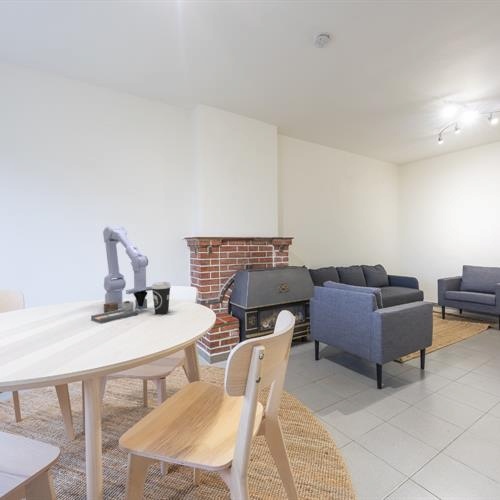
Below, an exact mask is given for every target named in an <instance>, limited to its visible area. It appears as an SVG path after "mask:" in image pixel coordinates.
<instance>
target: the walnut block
mask: <svg viewBox="0 0 500 500" xmlns="http://www.w3.org/2000/svg"><path fill="white" fill-rule="evenodd" d="M116 310H119V308H118V303H115V302H110V303H106V304H105V303H103V313H107V312H111V311H116Z"/></svg>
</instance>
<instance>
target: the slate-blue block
mask: <svg viewBox="0 0 500 500" xmlns="http://www.w3.org/2000/svg"><path fill="white" fill-rule="evenodd" d="M135 309H136V310H143V309H148V299H147V298H145V300H144V303H143V306H141V307H140V306H138V302H137V300H136V298H135Z"/></svg>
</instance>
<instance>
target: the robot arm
mask: <svg viewBox="0 0 500 500" xmlns="http://www.w3.org/2000/svg"><path fill="white" fill-rule="evenodd" d="M127 232H128V231H127V230H126V228H125V227H123V226H121V227H117V226H106V227H105V228H104V230H103V231H102V233H103V236H102V237H103V242H104V243H105V244H104V245H105V252H106V259H107V260H106V261H107V268H108V270H107V271H108V274H107V275H106V276H105V277H104V278H103V279H104V281H103V288H104V290H105V291H106V292H105V294H104V304H106V303H110V302H115V303H118V309H119V308H120V309H121V303H123V302H124V301H123V291H124V290H125V294H126V295H131V294H133V296H134V297H135V299H136V300H137V302H138V306H140V307H141V306H143V303H144V300H145V299H146V297H147V296H148V292H149V291H152V288H151V287H152V285H150V286H147V267H148V265H149V259H148V257H147V256H146V255H143V254H142V253H141V252H140V250H139V249H138V247H137V246H136V245H133V244H132V243H131V241H130V239H129V237H128V236H127V234H128V233H127ZM118 243H121V245H122V246H123V247H124V248H125V254H126V255H127V256H128V258H129V259H130V260H131V262H130V265H131V268H132V271H133V284H134V285H133V286H134V287H133V288H131V289H125V288H126V285H127V284H126V283H127V282H126V280H125V278H124V277H125V276H124V275H123V274H122V273H120V267H119V258H118V257H119V256H118V249H117V244H118Z"/></svg>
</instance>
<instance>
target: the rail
mask: <svg viewBox="0 0 500 500" xmlns="http://www.w3.org/2000/svg"><path fill="white" fill-rule="evenodd" d="M138 315H139V309H136V310H133V311H131V312H127V313H123V312H121V309H118V310H116V311H111V312H107V313H104V312H102V313H98V314H91V316H90V319H91V321H93V322H96V323H99V324H103V323H104V324H105V323H110V322H115V321H117V320H121V319H126V318H130V317H134V316H138Z"/></svg>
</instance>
